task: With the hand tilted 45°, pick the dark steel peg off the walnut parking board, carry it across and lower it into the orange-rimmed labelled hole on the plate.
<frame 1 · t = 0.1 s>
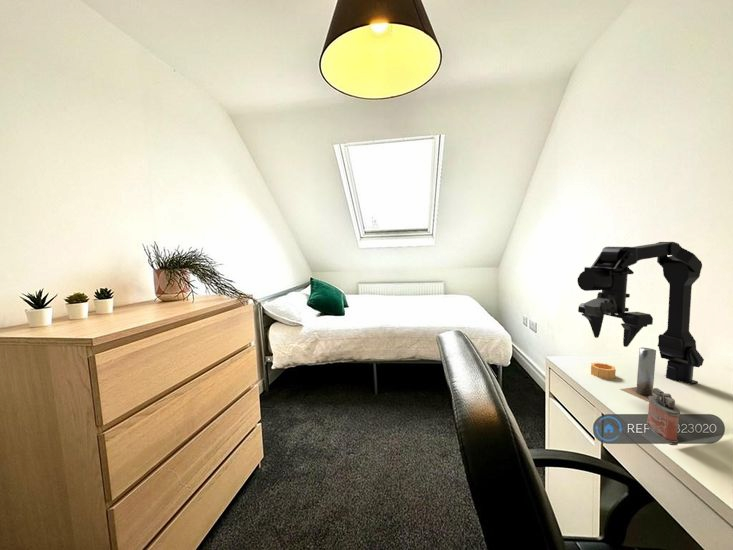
hand: (610, 341, 98), 15 cm above the table, tool pointing down, fingers open, 9 cm apart
parking board: (644, 396, 95), on the table
steel peg: (644, 393, 95), point 1 cm above the table, touching parking board
socket plate: (602, 376, 109), on the table
lighter: (660, 435, 76), on the table
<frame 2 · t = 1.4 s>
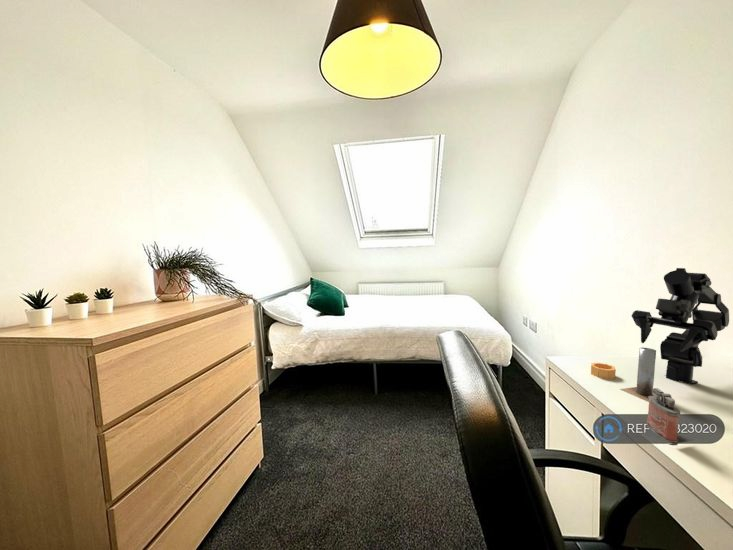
hand: (660, 346, 98), 13 cm above the table, tool tilted 45°, fingers open, 9 cm apart
nothing on the table moved.
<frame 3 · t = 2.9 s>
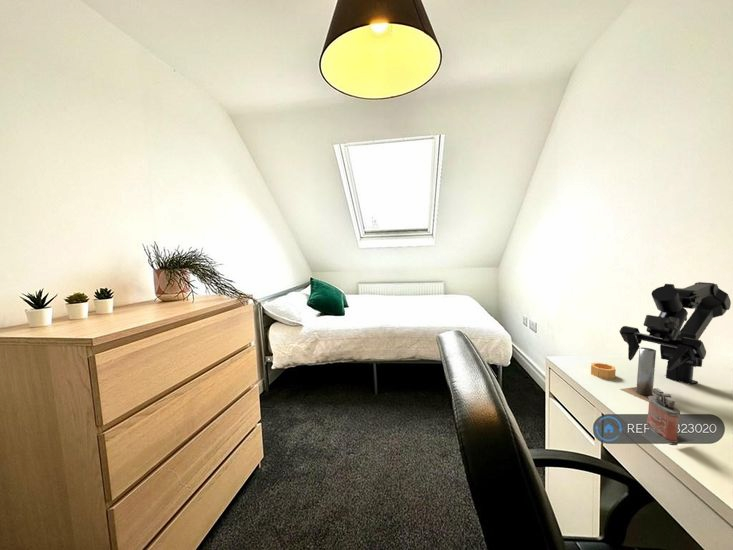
hand: (648, 364, 95), 9 cm above the table, tool tilted 45°, fingers open, 9 cm apart
nothing on the table moved.
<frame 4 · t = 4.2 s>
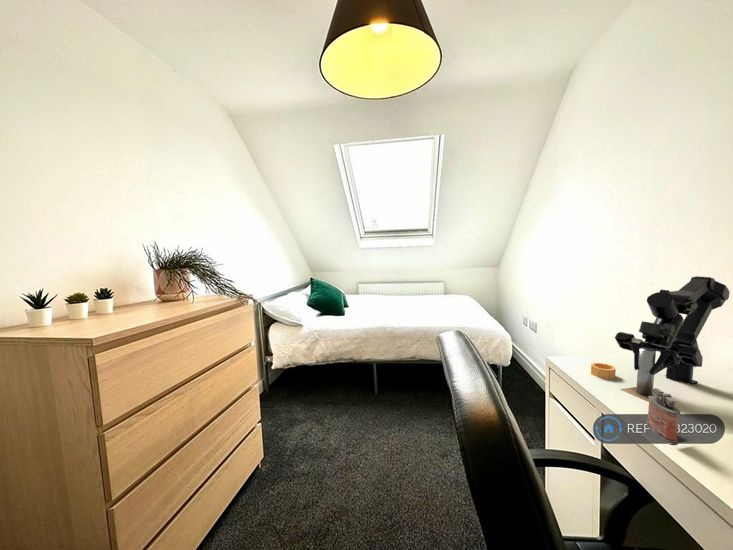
hand: (643, 371, 94), 8 cm above the table, tool tilted 45°, fingers closed on steel peg, 4 cm apart
steel peg: (644, 393, 95), point 1 cm above the table, touching gripper, parking board
everything else where it was.
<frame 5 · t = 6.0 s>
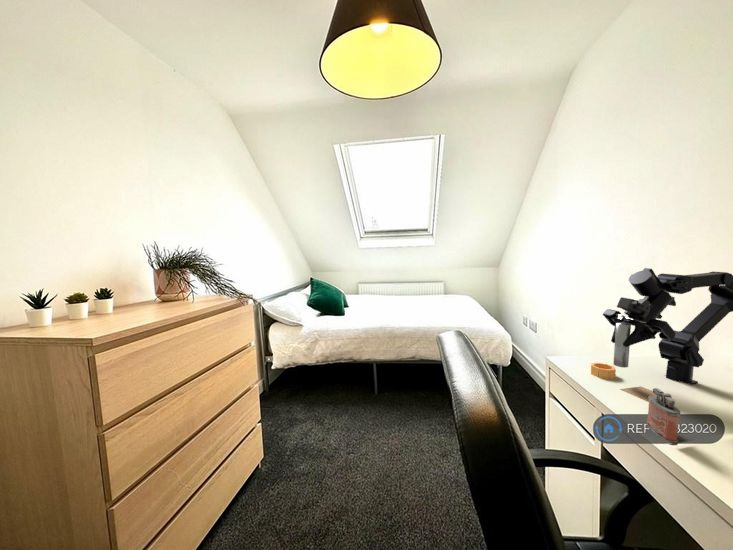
hand: (618, 343, 100), 13 cm above the table, tool tilted 45°, fingers closed on steel peg, 4 cm apart
steel peg: (620, 365, 101), point 7 cm above the table, touching gripper
everything else where it was.
when the fingers open (9 cm above the table, at t = 7.9 s): steel peg drops 1 cm, resting on socket plate.
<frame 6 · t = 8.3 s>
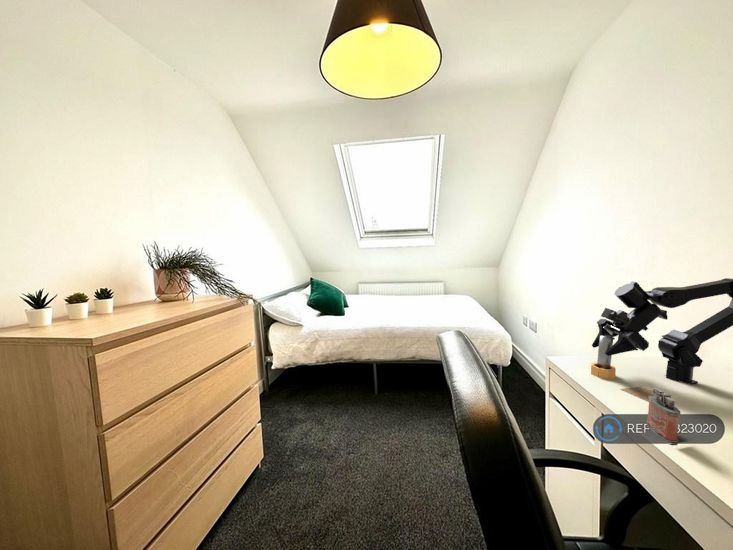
hand: (599, 350, 108), 9 cm above the table, tool tilted 45°, fingers open, 8 cm apart
steel peg: (602, 375, 109), point 1 cm above the table, touching socket plate
everything else where it was.
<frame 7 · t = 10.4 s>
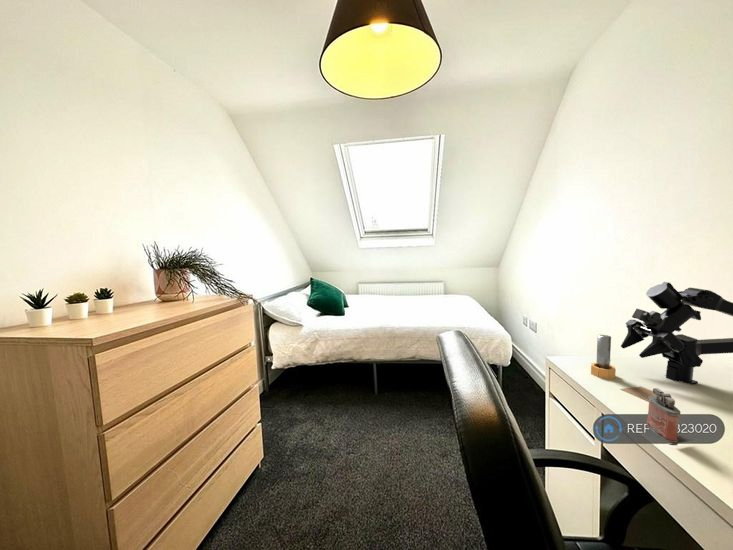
hand: (630, 351, 107), 9 cm above the table, tool tilted 45°, fingers open, 9 cm apart
nothing on the table moved.
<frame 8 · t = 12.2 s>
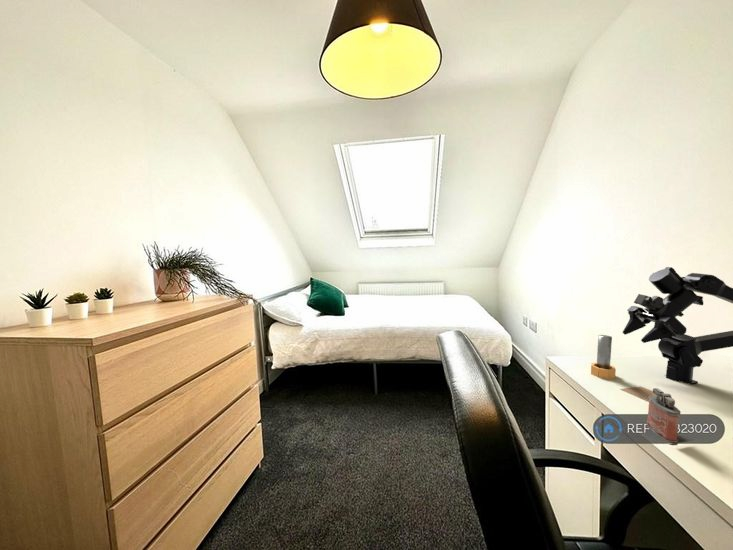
hand: (632, 337, 107), 14 cm above the table, tool tilted 45°, fingers open, 9 cm apart
nothing on the table moved.
at the end: steel peg 0.1 cm off-centre on the socket plate, point 0.6 cm above the socket plate's base; steel peg tilted 0°; the gripper is holding nothing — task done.
